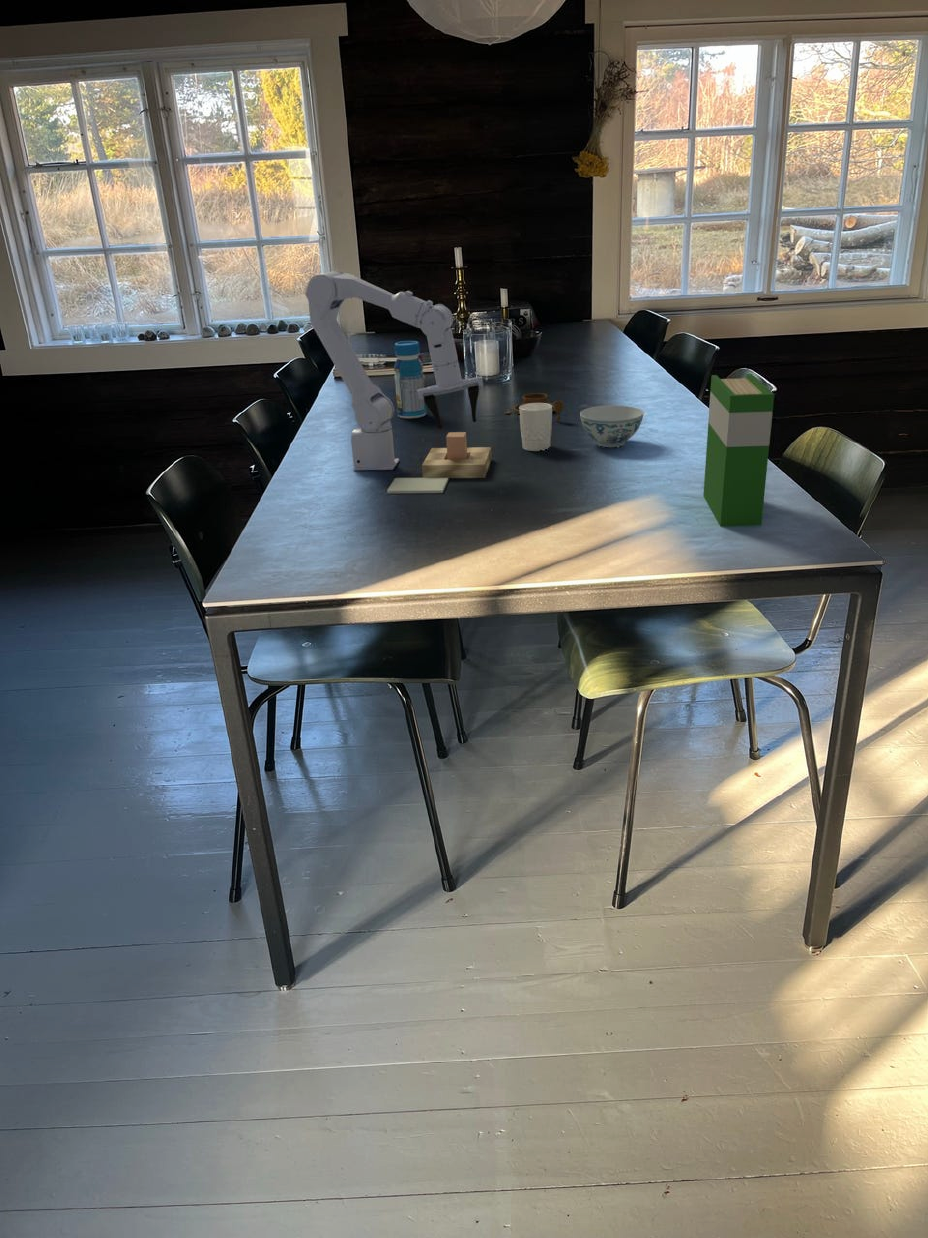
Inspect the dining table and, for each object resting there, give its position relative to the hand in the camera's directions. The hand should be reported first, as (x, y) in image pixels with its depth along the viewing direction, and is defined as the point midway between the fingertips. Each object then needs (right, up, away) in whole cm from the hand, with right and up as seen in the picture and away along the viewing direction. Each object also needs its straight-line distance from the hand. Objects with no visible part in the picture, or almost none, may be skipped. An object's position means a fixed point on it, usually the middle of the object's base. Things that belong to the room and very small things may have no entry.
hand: (457, 424), depth 205 cm
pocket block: (0, -9, +4) cm, 10 cm away
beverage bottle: (-13, +14, +53) cm, 57 cm away
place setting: (+21, +12, +47) cm, 53 cm away
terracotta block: (0, -9, +4) cm, 10 cm away
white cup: (+19, -2, +17) cm, 26 cm away
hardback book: (+53, -23, -29) cm, 64 cm away
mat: (-9, -15, -6) cm, 18 cm away
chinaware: (+37, -1, +17) cm, 41 cm away
